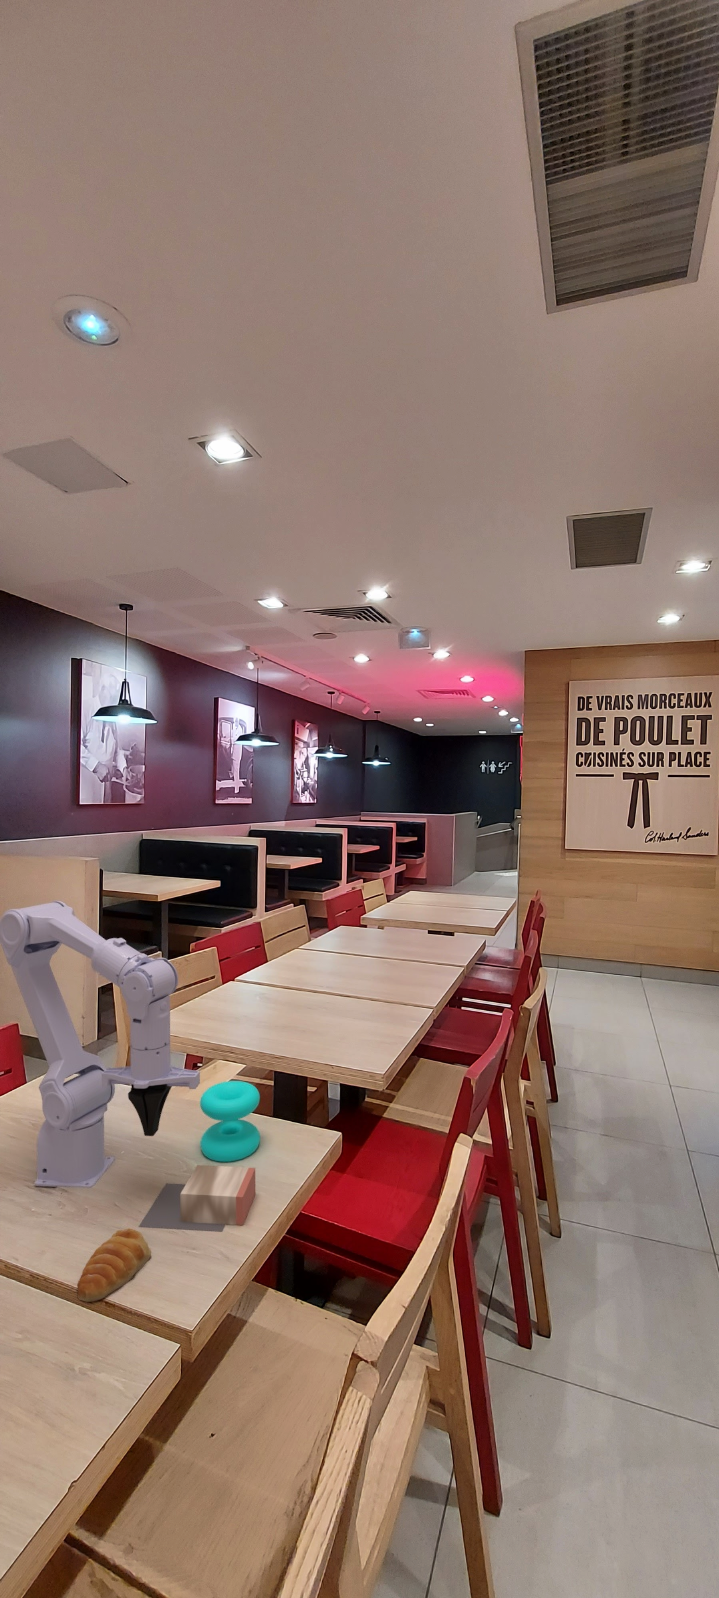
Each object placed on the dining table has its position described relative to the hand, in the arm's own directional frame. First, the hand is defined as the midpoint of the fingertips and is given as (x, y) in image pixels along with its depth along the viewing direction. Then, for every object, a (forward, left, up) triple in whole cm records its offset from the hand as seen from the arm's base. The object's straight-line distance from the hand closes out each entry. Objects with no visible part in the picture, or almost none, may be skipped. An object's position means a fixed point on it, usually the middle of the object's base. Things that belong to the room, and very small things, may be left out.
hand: (151, 1132), depth 97 cm
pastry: (+2, -15, -10) cm, 18 cm away
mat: (+7, -2, -10) cm, 12 cm away
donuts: (+8, +14, -10) cm, 19 cm away
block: (+7, -2, -8) cm, 10 cm away
